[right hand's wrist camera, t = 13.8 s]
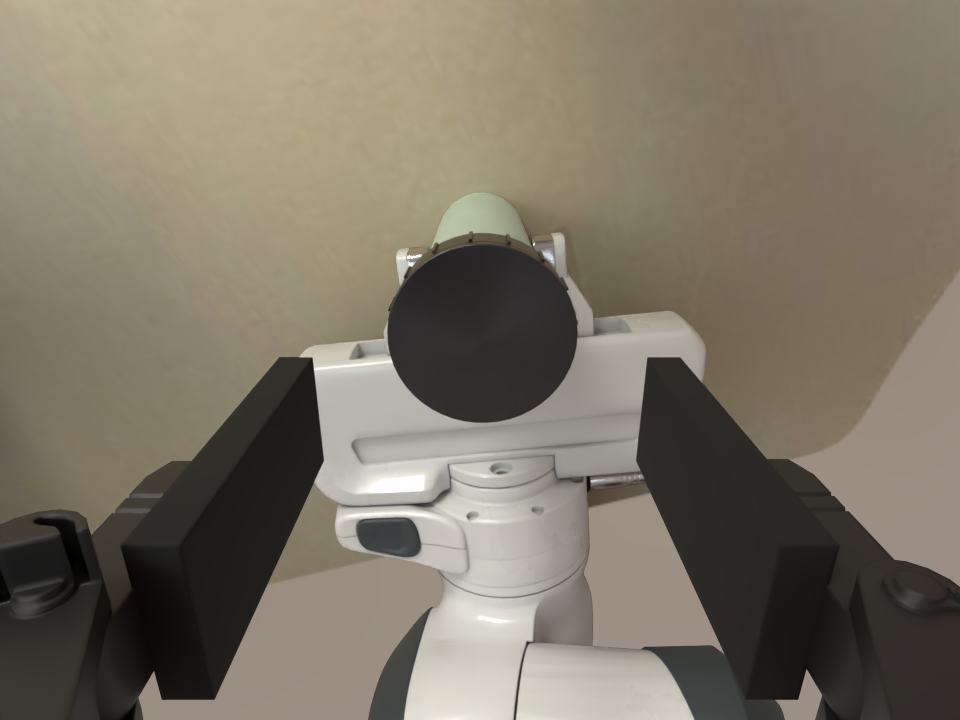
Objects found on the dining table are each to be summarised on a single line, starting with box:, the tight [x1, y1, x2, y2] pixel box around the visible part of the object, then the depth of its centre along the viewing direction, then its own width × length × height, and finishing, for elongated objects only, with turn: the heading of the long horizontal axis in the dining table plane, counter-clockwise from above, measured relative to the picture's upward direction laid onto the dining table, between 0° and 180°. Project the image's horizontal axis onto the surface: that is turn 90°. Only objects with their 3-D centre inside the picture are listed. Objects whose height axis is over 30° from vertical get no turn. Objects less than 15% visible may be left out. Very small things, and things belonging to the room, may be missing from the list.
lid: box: [387, 231, 578, 423], centre depth 19 cm, size 6×6×2 cm
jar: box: [431, 193, 532, 248], centre depth 26 cm, size 5×5×16 cm
